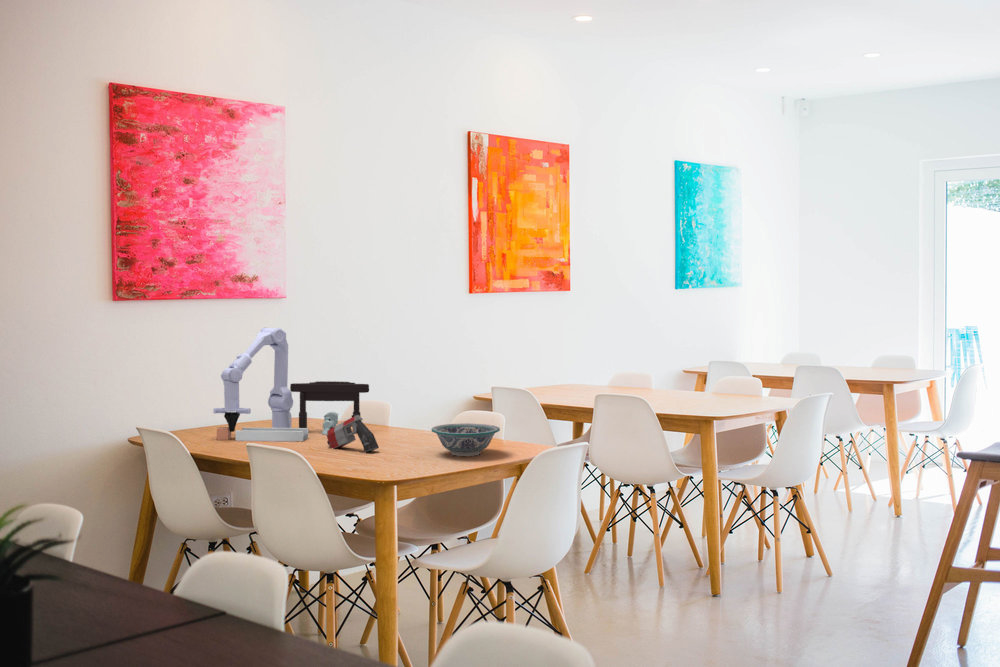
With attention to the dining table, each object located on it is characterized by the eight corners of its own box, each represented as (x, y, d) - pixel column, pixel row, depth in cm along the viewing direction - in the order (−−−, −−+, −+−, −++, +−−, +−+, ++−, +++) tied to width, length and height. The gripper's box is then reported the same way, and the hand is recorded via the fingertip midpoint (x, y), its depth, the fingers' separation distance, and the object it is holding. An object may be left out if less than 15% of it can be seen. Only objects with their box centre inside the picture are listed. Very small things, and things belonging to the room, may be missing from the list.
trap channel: (242, 437, 391) (242, 427, 390) (308, 438, 389) (308, 428, 388) (235, 440, 382) (235, 430, 382) (302, 441, 380) (302, 431, 380)
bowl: (429, 460, 340) (429, 433, 340) (433, 448, 365) (433, 423, 365) (500, 460, 341) (500, 433, 340) (499, 448, 366) (499, 423, 365)
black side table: (366, 384, 395) (285, 383, 395) (366, 435, 396) (286, 434, 397) (371, 380, 411) (294, 379, 411) (371, 429, 412) (294, 428, 412)
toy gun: (342, 465, 369) (329, 429, 372) (380, 446, 357) (367, 409, 360) (332, 468, 364) (320, 431, 367) (371, 448, 353) (358, 410, 356)
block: (231, 438, 389) (220, 438, 389) (231, 426, 388) (220, 426, 389) (228, 439, 384) (216, 439, 384) (227, 428, 384) (216, 428, 384)
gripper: (210, 398, 382) (210, 432, 383) (246, 399, 381) (246, 433, 382) (216, 396, 389) (217, 430, 390) (252, 396, 388) (252, 430, 389)
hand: (232, 431), depth 386 cm, fingers closed
